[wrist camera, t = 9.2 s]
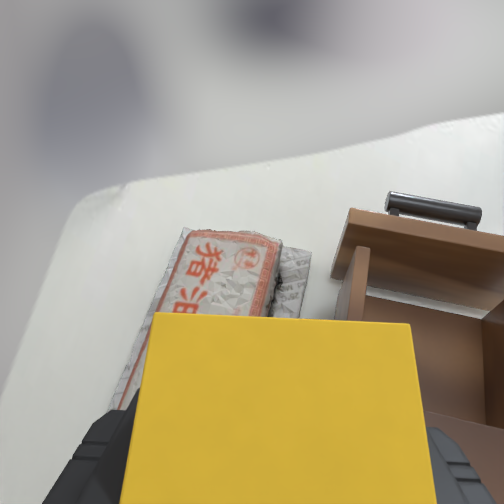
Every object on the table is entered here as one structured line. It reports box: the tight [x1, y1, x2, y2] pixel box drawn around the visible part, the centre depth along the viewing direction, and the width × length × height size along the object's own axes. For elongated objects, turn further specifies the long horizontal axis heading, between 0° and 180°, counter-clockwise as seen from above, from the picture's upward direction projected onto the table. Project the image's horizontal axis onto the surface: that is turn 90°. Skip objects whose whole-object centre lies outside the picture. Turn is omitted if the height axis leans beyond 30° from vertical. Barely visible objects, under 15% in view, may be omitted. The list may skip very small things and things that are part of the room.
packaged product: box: [107, 227, 312, 413], centre depth 27 cm, size 18×5×10 cm
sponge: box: [119, 312, 437, 504], centre depth 10 cm, size 4×5×9 cm
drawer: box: [330, 191, 504, 429], centre depth 26 cm, size 17×11×7 cm
